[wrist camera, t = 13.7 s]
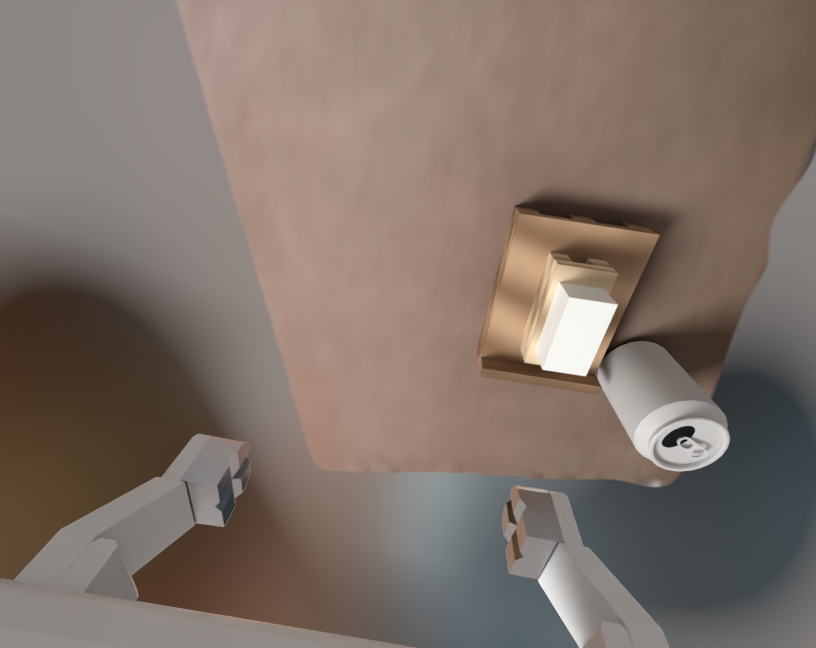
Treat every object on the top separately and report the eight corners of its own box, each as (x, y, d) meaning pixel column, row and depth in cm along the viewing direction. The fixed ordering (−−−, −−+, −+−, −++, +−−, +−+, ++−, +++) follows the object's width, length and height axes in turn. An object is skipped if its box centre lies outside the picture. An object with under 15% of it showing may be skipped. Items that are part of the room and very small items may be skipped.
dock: (514, 205, 36) (524, 219, 31) (644, 225, 35) (671, 242, 31) (477, 349, 43) (480, 376, 39) (582, 365, 43) (597, 394, 39)
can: (635, 324, 40) (701, 399, 30) (682, 360, 42) (761, 444, 31) (580, 369, 44) (622, 452, 33) (626, 402, 45) (680, 490, 35)
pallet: (549, 252, 34) (557, 264, 32) (605, 260, 34) (618, 273, 32) (519, 345, 39) (524, 362, 37) (567, 353, 39) (576, 370, 37)
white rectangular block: (559, 282, 32) (569, 297, 30) (604, 288, 32) (617, 304, 30) (535, 350, 36) (542, 369, 33) (575, 356, 36) (585, 376, 33)
